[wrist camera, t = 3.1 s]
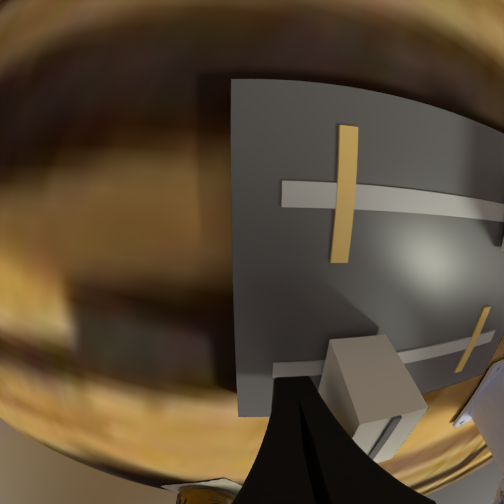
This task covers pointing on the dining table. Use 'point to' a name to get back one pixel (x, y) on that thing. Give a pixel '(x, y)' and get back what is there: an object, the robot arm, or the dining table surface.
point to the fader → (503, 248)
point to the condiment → (205, 492)
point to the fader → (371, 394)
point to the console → (361, 233)
